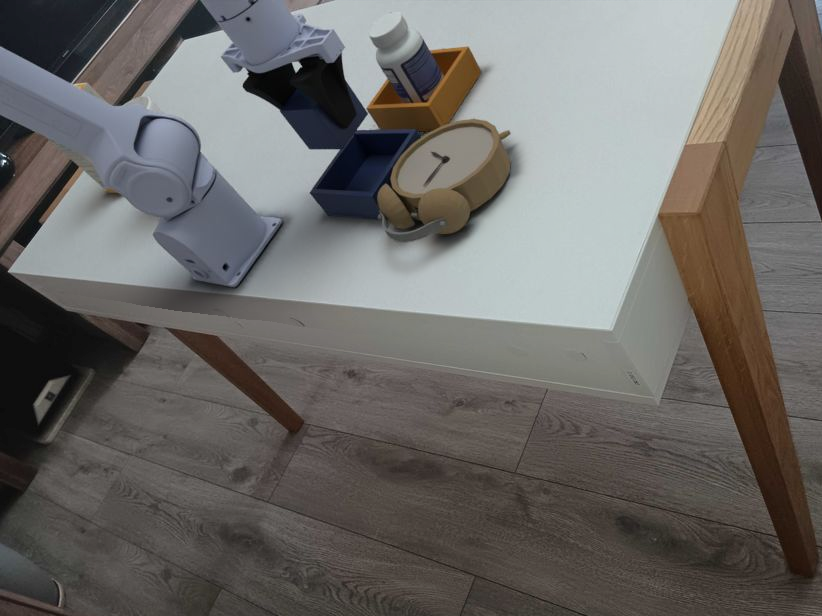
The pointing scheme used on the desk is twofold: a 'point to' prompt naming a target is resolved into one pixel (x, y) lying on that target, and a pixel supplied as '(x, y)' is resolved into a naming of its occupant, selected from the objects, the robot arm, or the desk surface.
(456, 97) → the amber bin
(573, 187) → the desk surface
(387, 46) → the pill bottle
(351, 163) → the navy bin
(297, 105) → the navy block
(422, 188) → the alarm clock
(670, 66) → the desk surface
